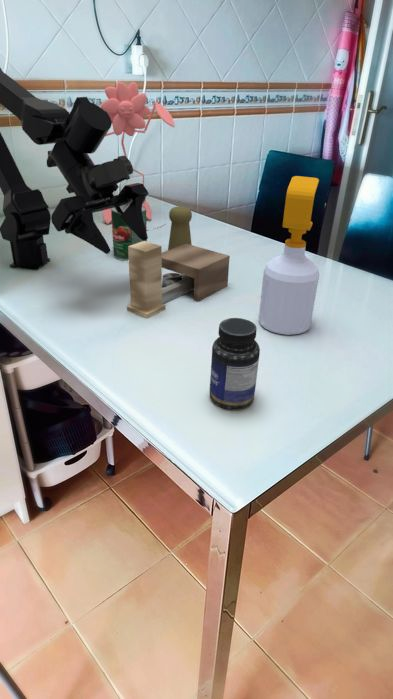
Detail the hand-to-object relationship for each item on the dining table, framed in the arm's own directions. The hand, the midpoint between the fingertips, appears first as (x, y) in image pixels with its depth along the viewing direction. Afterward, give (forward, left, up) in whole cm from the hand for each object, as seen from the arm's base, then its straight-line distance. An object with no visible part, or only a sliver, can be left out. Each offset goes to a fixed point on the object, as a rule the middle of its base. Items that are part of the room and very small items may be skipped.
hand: (128, 246), depth 84 cm
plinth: (+9, +11, -11) cm, 18 cm away
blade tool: (+6, +4, -11) cm, 13 cm away
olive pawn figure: (+3, +29, -11) cm, 32 cm away
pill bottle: (+23, -25, -11) cm, 35 cm away
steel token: (+5, +11, -11) cm, 16 cm away
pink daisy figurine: (-16, +49, -11) cm, 53 cm away
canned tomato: (-8, +25, -11) cm, 29 cm away
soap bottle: (+29, -1, -11) cm, 31 cm away
